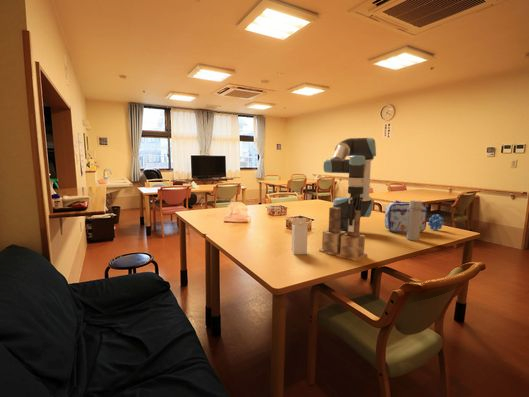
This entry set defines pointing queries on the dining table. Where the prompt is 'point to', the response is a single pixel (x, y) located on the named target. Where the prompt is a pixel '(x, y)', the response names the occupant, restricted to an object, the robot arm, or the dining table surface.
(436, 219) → the blue bumpy wheel
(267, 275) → the dining table surface
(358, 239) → the stand
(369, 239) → the dining table surface
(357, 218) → the right post
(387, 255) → the dining table surface
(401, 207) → the lunch box
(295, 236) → the milk carton
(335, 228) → the left post
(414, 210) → the tall beige block
